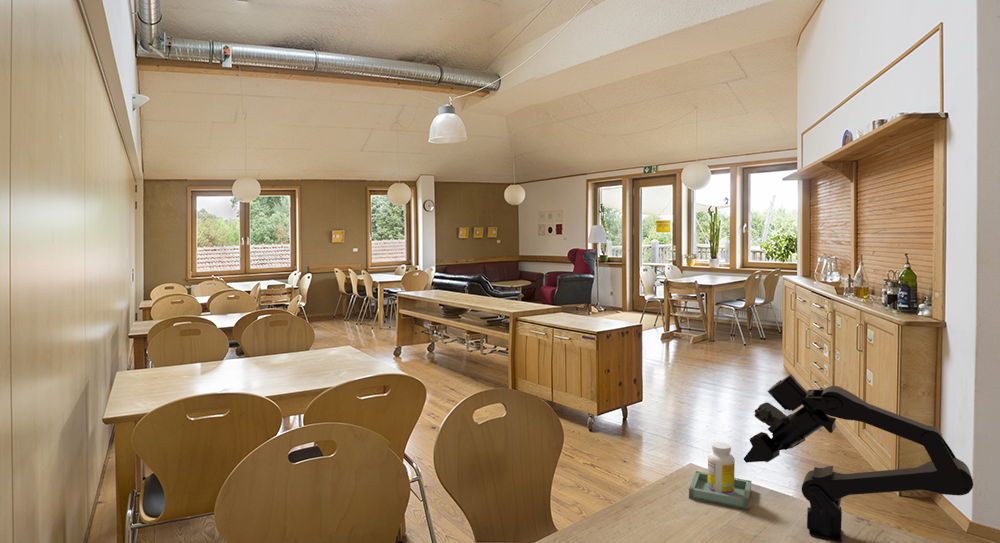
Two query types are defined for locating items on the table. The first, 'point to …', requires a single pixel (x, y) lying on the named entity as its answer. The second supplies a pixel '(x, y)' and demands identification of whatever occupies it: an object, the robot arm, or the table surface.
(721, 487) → the supplement bottle
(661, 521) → the table surface
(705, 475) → the tub
